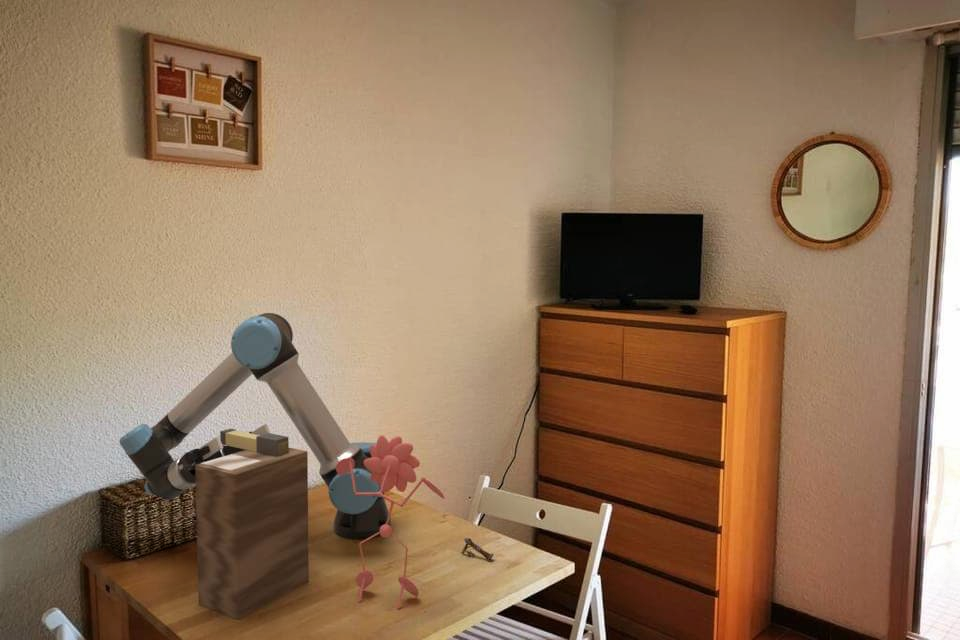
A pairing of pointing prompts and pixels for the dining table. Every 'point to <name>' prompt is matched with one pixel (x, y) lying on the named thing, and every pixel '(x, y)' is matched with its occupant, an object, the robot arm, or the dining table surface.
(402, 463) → the figurine
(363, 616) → the dining table surface
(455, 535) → the dining table surface
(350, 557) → the dining table surface
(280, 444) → the marker
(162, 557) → the dining table surface
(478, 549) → the wooden post with brackets
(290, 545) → the tall wood-grain block
